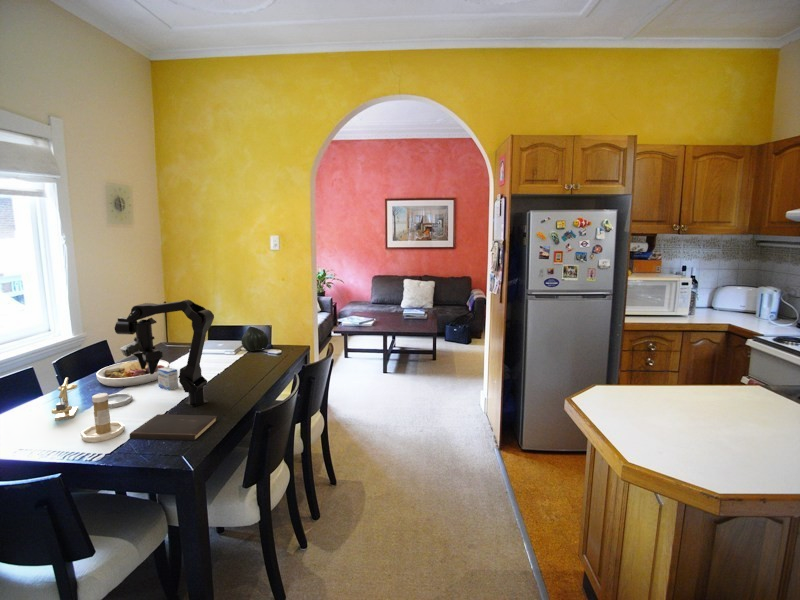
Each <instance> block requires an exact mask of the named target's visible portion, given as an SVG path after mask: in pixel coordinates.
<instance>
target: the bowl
mask: <svg viewBox="0 0 800 600" xmlns="http://www.w3.org/2000/svg"><path fill="white" fill-rule="evenodd" d="M164 367H168V368H170V363H169V361H166V360H163V359H160V361H159V362H158V365H157V367H156V369H155V371H154V374H150V371H149V368H148V364H147V363H146V367H145V369H143V370H142V369H141V366H140V364H139V362H138V359H135V360H128V361H123V362H118V363H115V364H112V365H109V366H105V367H103V368H101V369H99V370H98V371H97V372H96V373H95V374H96V379H97V380H98V381H99V383H101V385H104V386H107V387H114V388H116V387H119V388H120V387H123V386H124V387H133V385H134V386H139V384H140V385H144V384H147V383H151V381H152V382H154V381H157V380H158V369H160V368H164ZM124 387H123V388H124Z"/></svg>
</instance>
